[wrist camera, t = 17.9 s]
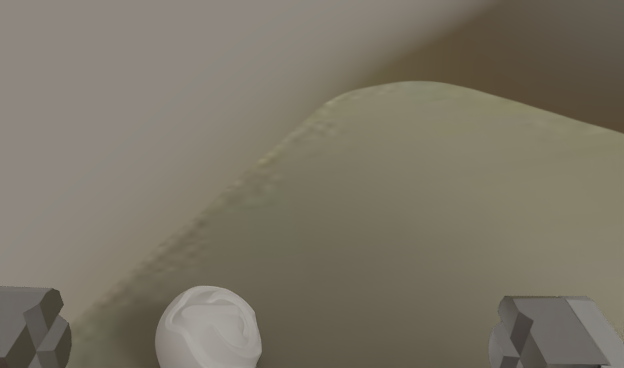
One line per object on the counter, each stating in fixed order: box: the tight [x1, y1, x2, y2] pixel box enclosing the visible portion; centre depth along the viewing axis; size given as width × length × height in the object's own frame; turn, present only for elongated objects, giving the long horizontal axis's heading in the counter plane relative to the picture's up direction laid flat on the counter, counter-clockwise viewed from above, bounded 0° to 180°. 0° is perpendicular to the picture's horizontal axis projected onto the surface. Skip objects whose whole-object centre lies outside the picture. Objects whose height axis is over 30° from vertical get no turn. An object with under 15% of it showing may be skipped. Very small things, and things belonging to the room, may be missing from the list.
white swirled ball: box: [155, 286, 262, 368], centre depth 37 cm, size 8×8×8 cm
